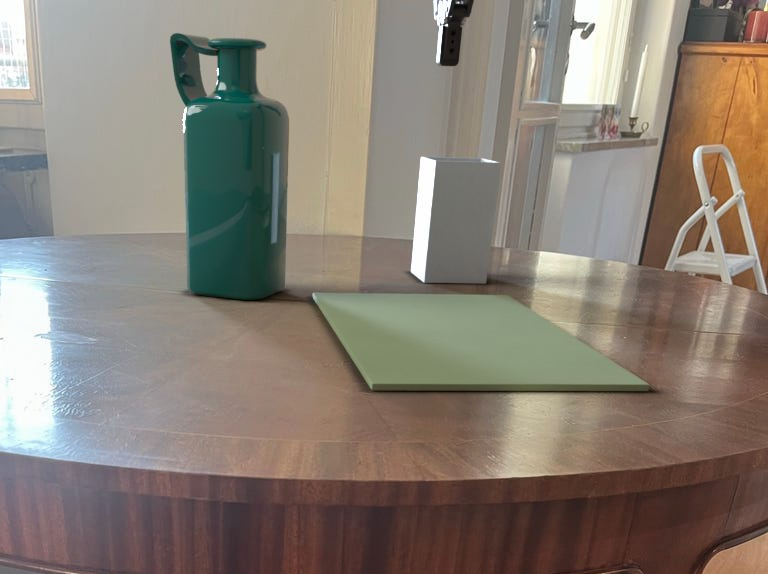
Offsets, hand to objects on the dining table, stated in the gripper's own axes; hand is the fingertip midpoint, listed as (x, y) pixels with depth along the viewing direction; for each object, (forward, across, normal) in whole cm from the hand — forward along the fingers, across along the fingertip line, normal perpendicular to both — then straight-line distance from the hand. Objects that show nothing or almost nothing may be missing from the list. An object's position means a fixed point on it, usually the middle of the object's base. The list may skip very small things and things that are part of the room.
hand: (447, 65), depth 106 cm
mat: (+21, -40, +7) cm, 46 cm away
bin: (+21, -10, 0) cm, 23 cm away
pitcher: (+21, -20, +25) cm, 38 cm away
